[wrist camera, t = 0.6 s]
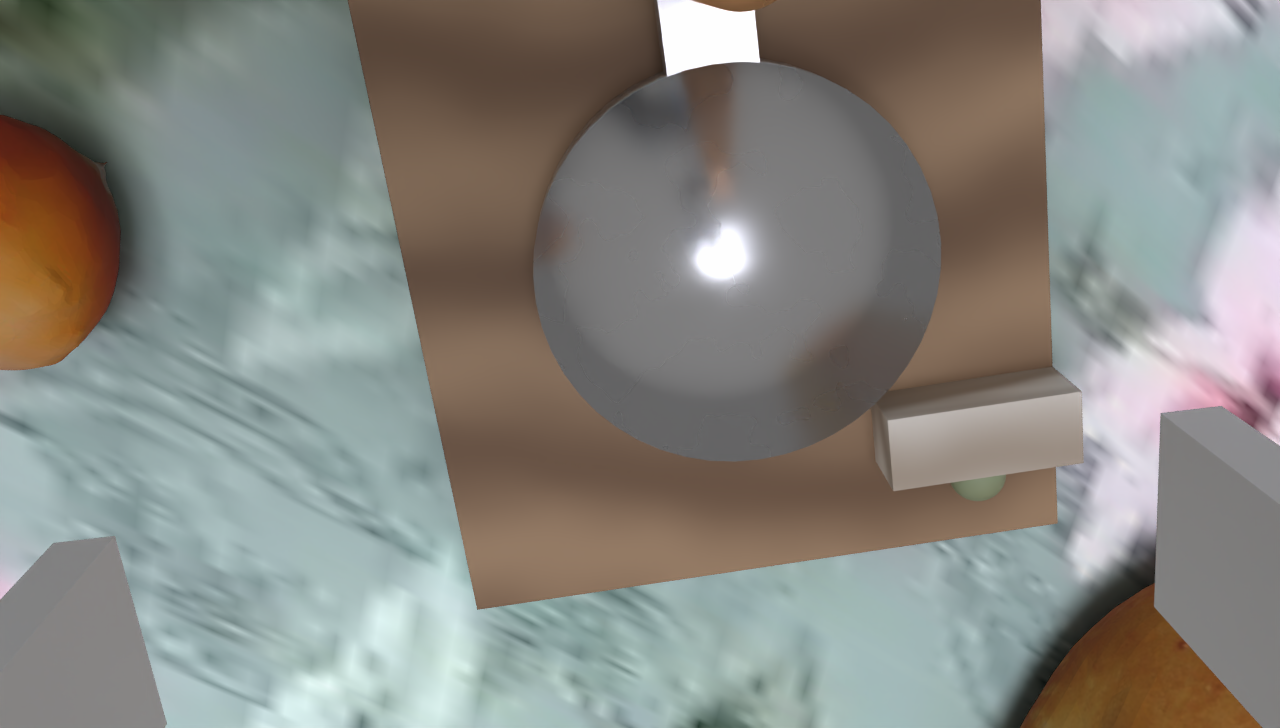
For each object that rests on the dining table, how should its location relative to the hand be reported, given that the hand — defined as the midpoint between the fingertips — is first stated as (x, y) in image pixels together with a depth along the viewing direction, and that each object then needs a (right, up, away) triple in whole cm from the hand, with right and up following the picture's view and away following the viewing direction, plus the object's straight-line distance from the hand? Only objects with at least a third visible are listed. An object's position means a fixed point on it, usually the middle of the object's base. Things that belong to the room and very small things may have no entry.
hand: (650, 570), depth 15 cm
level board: (+3, +7, +24) cm, 25 cm away
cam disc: (+2, +8, +21) cm, 22 cm away
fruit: (-20, +7, +23) cm, 31 cm away
